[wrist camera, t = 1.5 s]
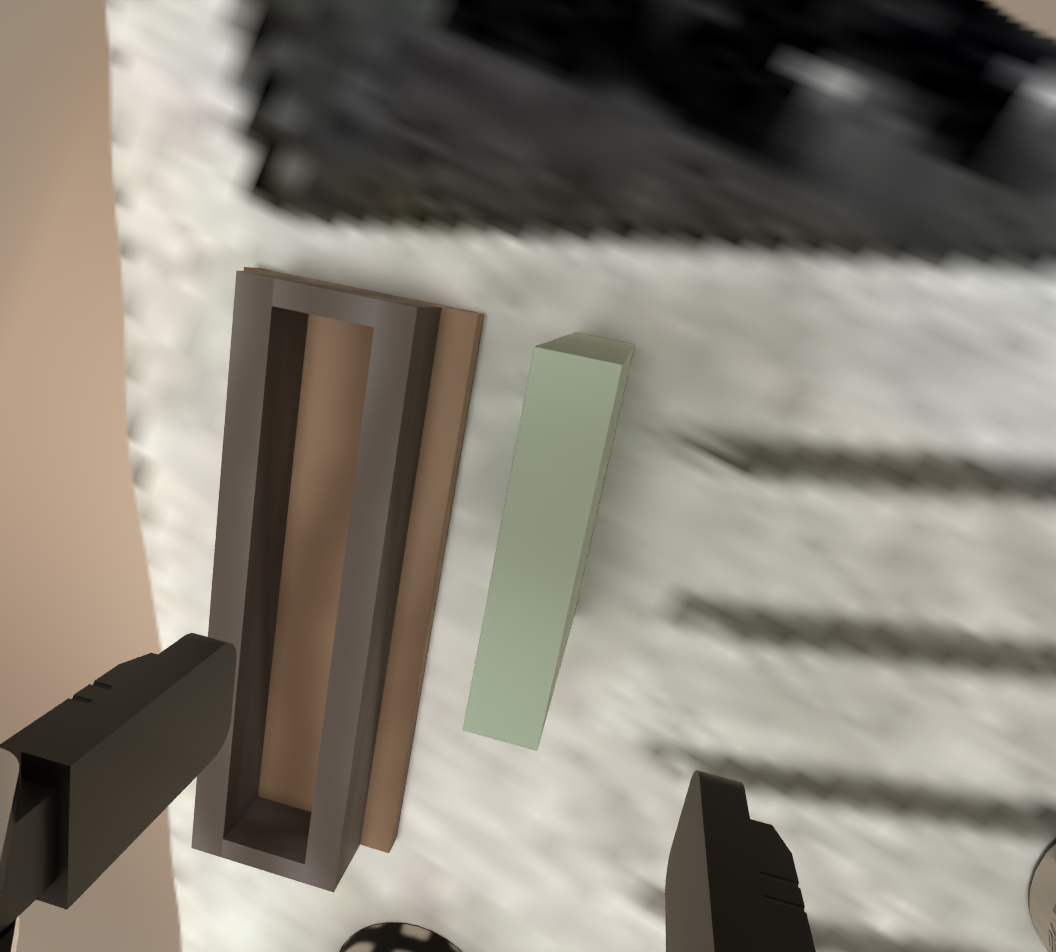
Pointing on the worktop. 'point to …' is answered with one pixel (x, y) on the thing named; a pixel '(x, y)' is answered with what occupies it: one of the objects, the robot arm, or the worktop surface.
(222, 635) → the door track
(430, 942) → the spotted tube
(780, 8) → the worktop surface
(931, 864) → the worktop surface
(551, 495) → the door panel
